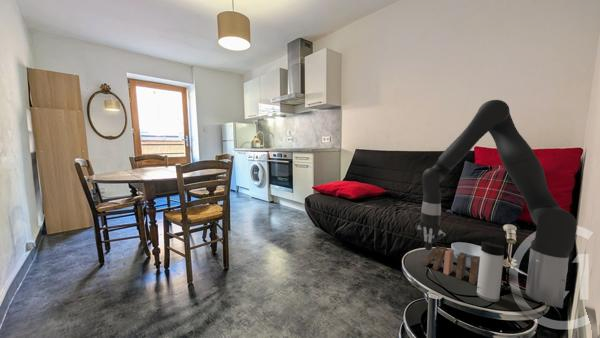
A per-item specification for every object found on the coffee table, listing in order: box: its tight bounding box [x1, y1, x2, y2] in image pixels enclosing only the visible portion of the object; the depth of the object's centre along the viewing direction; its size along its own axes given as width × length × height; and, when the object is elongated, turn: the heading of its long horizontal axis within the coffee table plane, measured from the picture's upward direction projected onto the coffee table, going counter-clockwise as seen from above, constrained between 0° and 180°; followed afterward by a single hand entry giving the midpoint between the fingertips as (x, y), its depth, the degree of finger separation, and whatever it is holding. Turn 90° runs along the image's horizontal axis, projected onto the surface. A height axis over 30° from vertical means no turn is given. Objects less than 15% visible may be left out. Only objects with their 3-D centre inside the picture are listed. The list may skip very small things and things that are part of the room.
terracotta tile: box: [443, 248, 455, 276], centre depth 100 cm, size 2×5×10 cm, turn 130°
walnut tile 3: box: [455, 252, 467, 280], centre depth 96 cm, size 2×5×10 cm, turn 130°
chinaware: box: [450, 241, 481, 269], centre depth 106 cm, size 15×15×8 cm
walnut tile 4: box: [468, 256, 480, 286], centre depth 93 cm, size 2×5×10 cm, turn 130°
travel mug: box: [476, 241, 505, 303], centre depth 83 cm, size 6×7×20 cm
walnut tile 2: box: [432, 246, 448, 271], centre depth 102 cm, size 2×5×10 cm, turn 130°
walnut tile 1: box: [421, 245, 441, 267], centre depth 105 cm, size 2×5×10 cm, turn 129°
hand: (428, 249), depth 106 cm, fingers closed
